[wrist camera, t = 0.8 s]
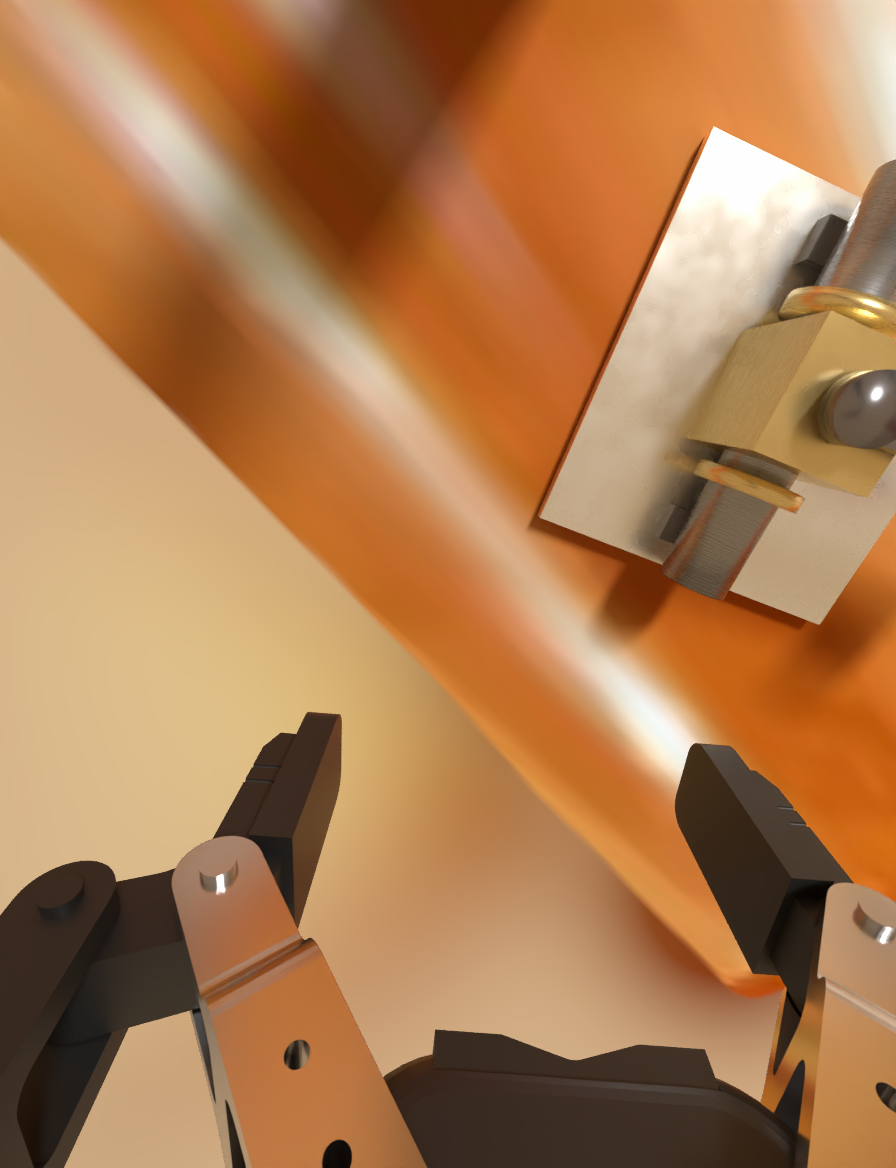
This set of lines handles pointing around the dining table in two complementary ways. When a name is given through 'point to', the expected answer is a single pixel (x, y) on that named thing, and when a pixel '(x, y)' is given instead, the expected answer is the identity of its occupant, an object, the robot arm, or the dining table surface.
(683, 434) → the valve
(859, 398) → the lever
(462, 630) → the dining table surface
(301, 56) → the dining table surface
